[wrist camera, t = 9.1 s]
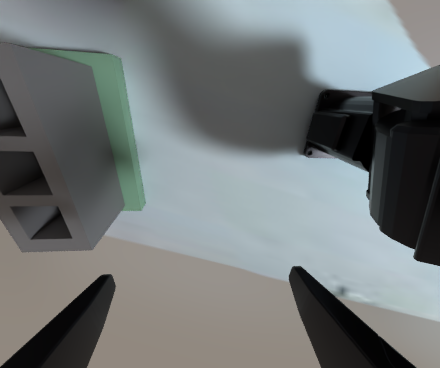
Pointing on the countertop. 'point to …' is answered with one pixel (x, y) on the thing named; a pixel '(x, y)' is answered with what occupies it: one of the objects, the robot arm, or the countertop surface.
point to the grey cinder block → (54, 154)
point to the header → (114, 120)
